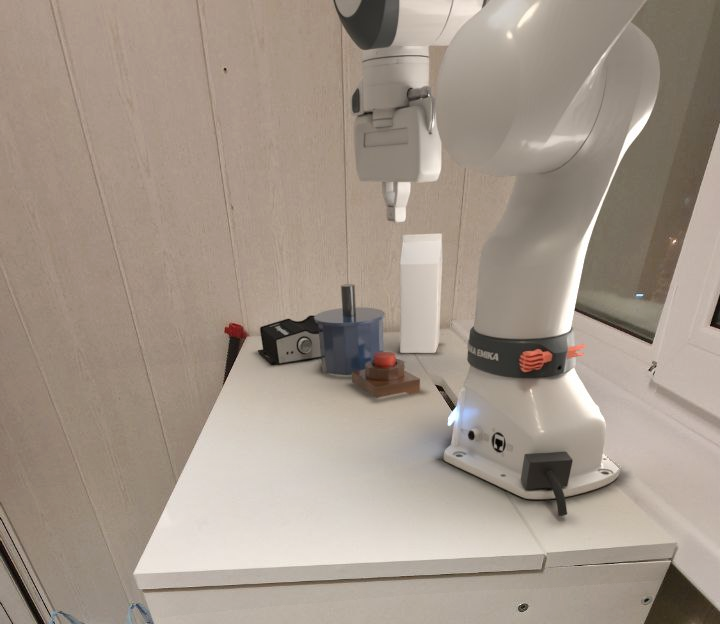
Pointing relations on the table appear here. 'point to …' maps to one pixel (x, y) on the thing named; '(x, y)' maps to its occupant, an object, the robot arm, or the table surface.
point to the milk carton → (420, 292)
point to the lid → (349, 311)
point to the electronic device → (290, 341)
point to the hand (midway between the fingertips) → (396, 221)
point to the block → (386, 379)
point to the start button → (384, 359)
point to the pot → (349, 346)
